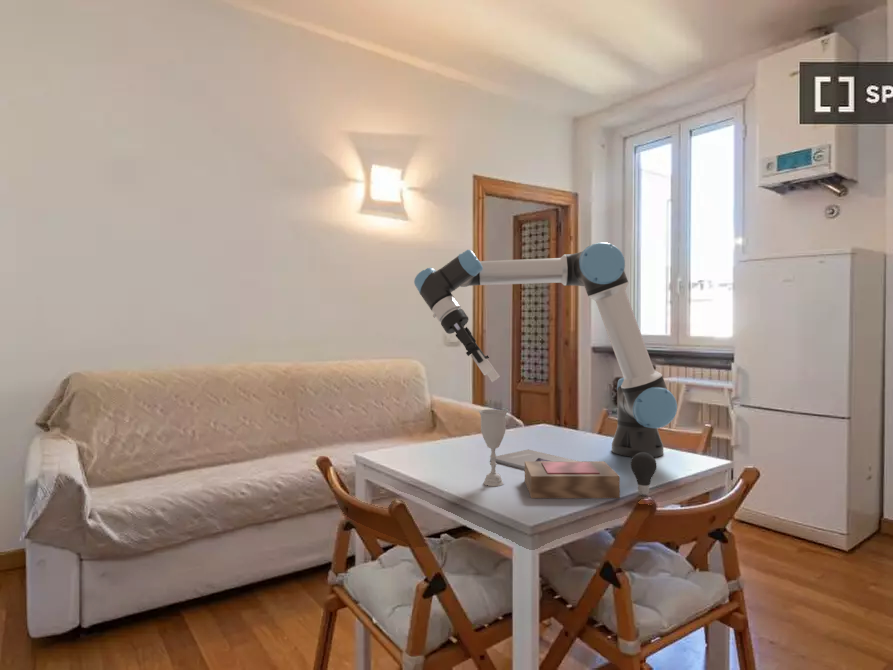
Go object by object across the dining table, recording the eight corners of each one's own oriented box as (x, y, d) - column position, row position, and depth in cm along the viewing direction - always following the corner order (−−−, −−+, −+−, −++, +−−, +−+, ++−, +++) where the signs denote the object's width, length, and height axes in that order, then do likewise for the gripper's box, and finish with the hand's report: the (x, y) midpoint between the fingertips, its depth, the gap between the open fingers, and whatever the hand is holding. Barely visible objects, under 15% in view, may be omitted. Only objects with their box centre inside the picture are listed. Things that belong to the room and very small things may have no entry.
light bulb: (638, 500, 126) (638, 455, 125) (626, 492, 131) (626, 450, 131) (661, 498, 126) (661, 454, 126) (648, 491, 132) (648, 449, 132)
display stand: (604, 481, 141) (604, 460, 141) (619, 498, 127) (619, 475, 127) (524, 481, 142) (524, 460, 142) (531, 498, 128) (531, 474, 128)
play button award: (528, 449, 173) (581, 461, 158) (528, 454, 173) (581, 466, 158) (490, 457, 163) (542, 471, 148) (490, 462, 163) (542, 476, 148)
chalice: (513, 483, 140) (512, 411, 140) (497, 489, 135) (496, 414, 135) (490, 477, 145) (489, 408, 145) (473, 483, 140) (473, 411, 139)
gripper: (449, 332, 172) (488, 389, 165) (429, 312, 148) (472, 377, 142) (469, 318, 171) (509, 374, 165) (452, 296, 148) (497, 360, 141)
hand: (492, 376), depth 153 cm, fingers open, 13 cm apart
